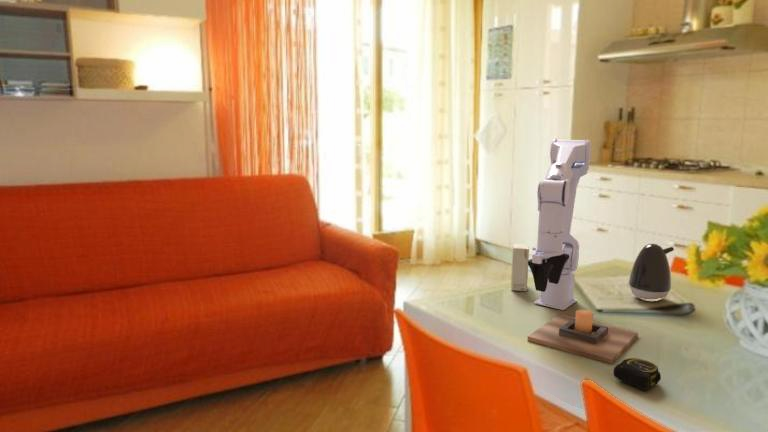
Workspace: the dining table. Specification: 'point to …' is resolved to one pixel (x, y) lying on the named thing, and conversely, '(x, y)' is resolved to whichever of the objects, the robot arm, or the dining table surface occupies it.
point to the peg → (584, 321)
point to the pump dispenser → (651, 273)
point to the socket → (584, 338)
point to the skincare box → (519, 267)
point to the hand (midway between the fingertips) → (547, 286)
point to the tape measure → (638, 373)
